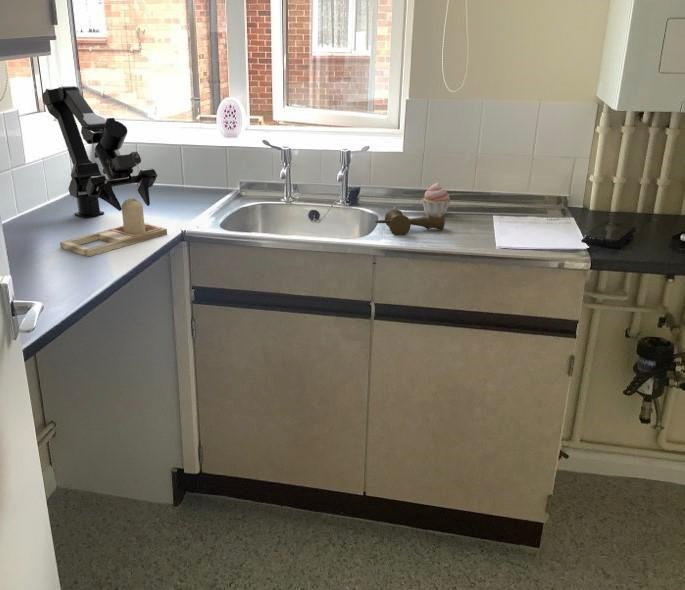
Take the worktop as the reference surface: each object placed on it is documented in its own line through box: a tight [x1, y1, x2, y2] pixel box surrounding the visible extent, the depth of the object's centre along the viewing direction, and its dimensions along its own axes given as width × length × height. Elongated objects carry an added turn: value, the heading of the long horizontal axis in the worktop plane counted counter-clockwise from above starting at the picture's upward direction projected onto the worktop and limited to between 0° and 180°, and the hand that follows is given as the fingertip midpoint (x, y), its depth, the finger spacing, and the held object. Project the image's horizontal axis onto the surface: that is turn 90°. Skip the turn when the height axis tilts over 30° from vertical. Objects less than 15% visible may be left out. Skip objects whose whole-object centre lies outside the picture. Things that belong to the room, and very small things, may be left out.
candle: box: [120, 198, 146, 236], centre depth 182 cm, size 6×6×10 cm
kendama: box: [374, 208, 446, 236], centre depth 190 cm, size 6×10×20 cm
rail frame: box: [59, 222, 168, 257], centre depth 179 cm, size 12×25×2 cm, turn 144°
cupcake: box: [420, 182, 452, 217], centre depth 206 cm, size 9×9×10 cm
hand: (134, 207), depth 180 cm, fingers open, 8 cm apart
